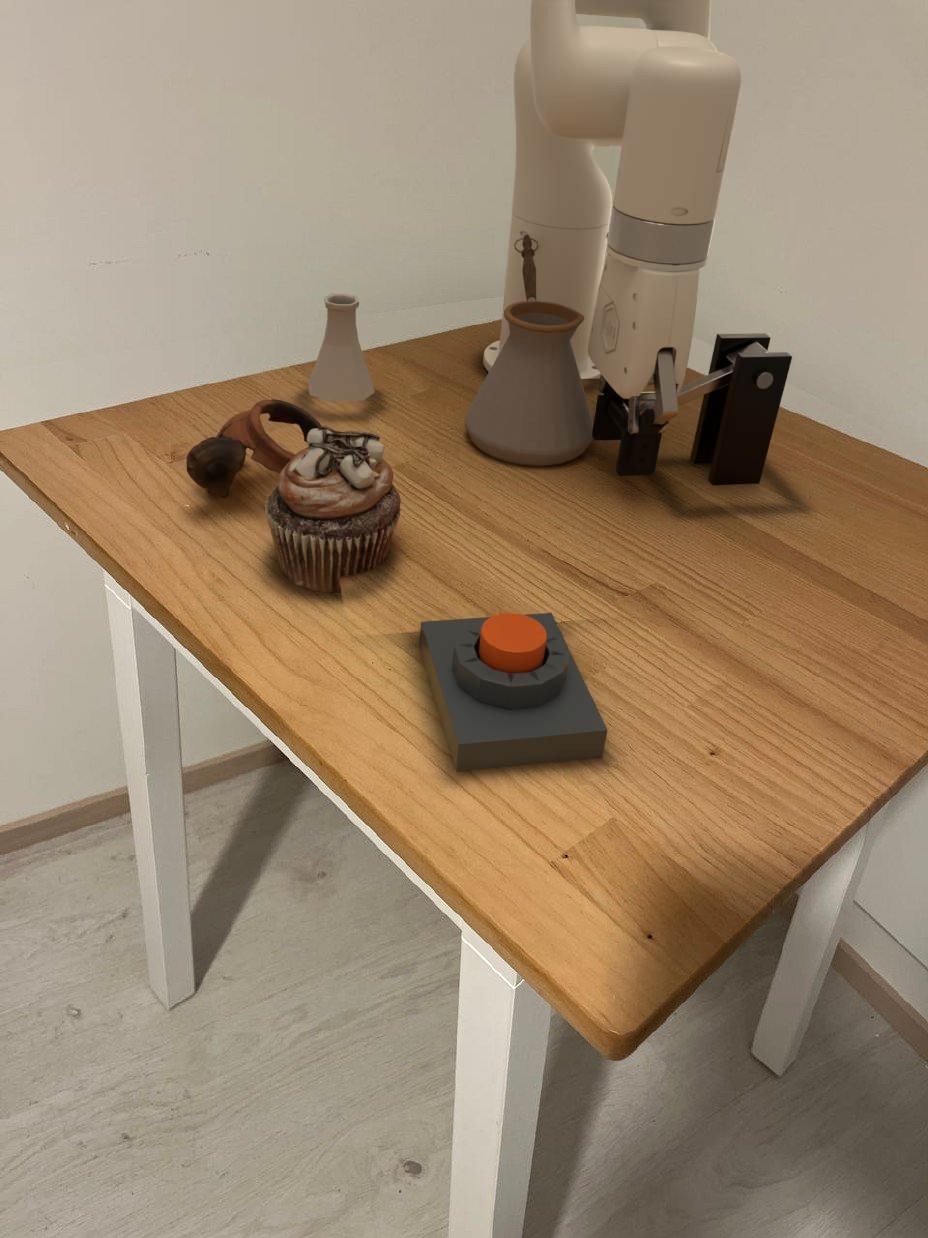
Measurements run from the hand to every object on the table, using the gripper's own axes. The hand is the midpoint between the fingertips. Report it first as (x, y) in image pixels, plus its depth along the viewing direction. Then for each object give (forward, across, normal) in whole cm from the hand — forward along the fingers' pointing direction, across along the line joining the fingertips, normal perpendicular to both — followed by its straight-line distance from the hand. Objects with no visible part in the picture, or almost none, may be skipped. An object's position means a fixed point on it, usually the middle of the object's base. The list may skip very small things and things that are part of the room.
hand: (622, 453), depth 90 cm
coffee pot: (+4, -12, -5) cm, 14 cm away
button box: (+4, +26, -16) cm, 31 cm away
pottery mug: (+4, -2, -30) cm, 31 cm away
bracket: (+3, 0, +10) cm, 10 cm away
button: (0, +26, -16) cm, 31 cm away
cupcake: (+4, +9, -25) cm, 27 cm away
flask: (+4, -19, -21) cm, 29 cm away
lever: (-4, 0, +6) cm, 7 cm away
